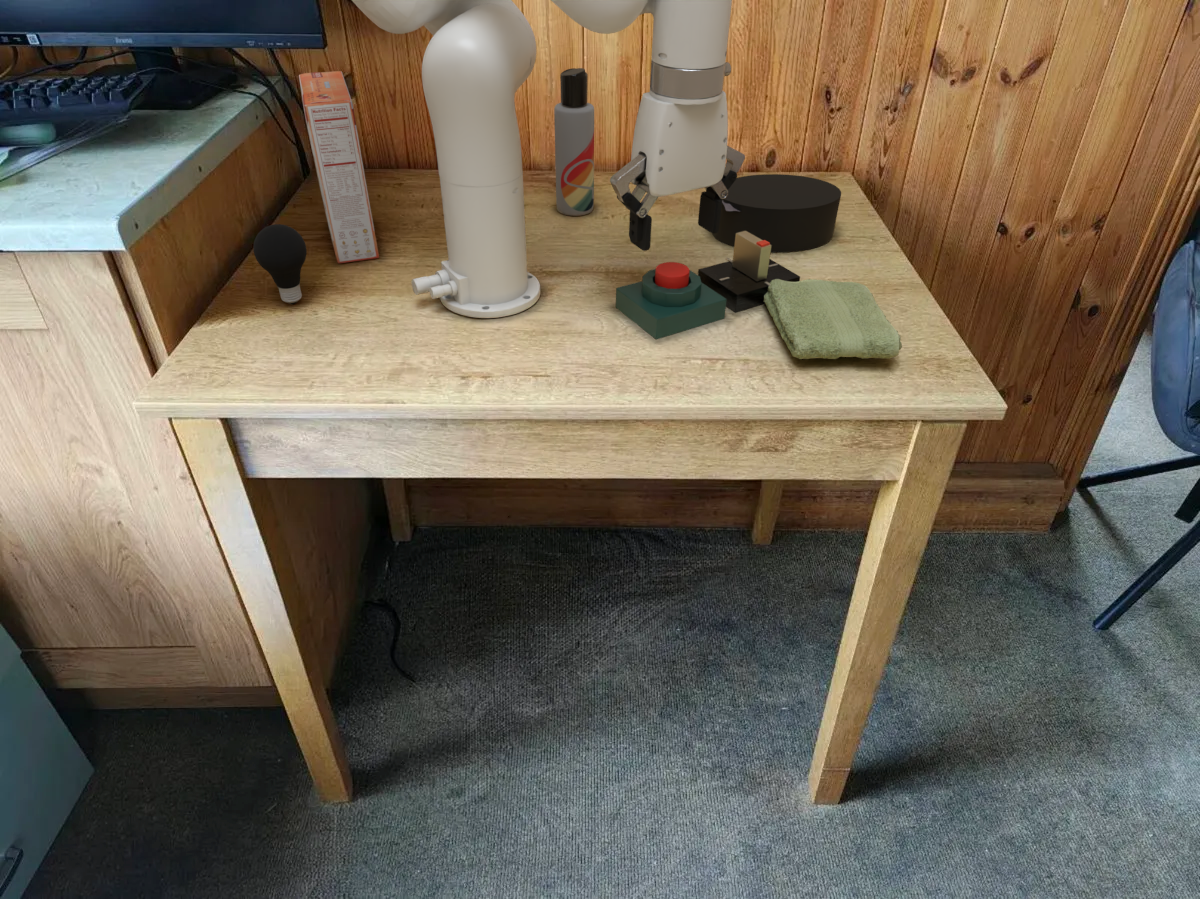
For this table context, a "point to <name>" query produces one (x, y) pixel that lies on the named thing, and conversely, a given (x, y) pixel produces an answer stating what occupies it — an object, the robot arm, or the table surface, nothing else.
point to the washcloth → (830, 320)
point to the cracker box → (339, 165)
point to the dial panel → (742, 284)
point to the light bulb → (282, 258)
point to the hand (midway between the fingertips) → (674, 237)
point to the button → (672, 275)
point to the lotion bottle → (574, 145)
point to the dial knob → (751, 255)
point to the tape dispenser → (780, 211)
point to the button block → (669, 305)
